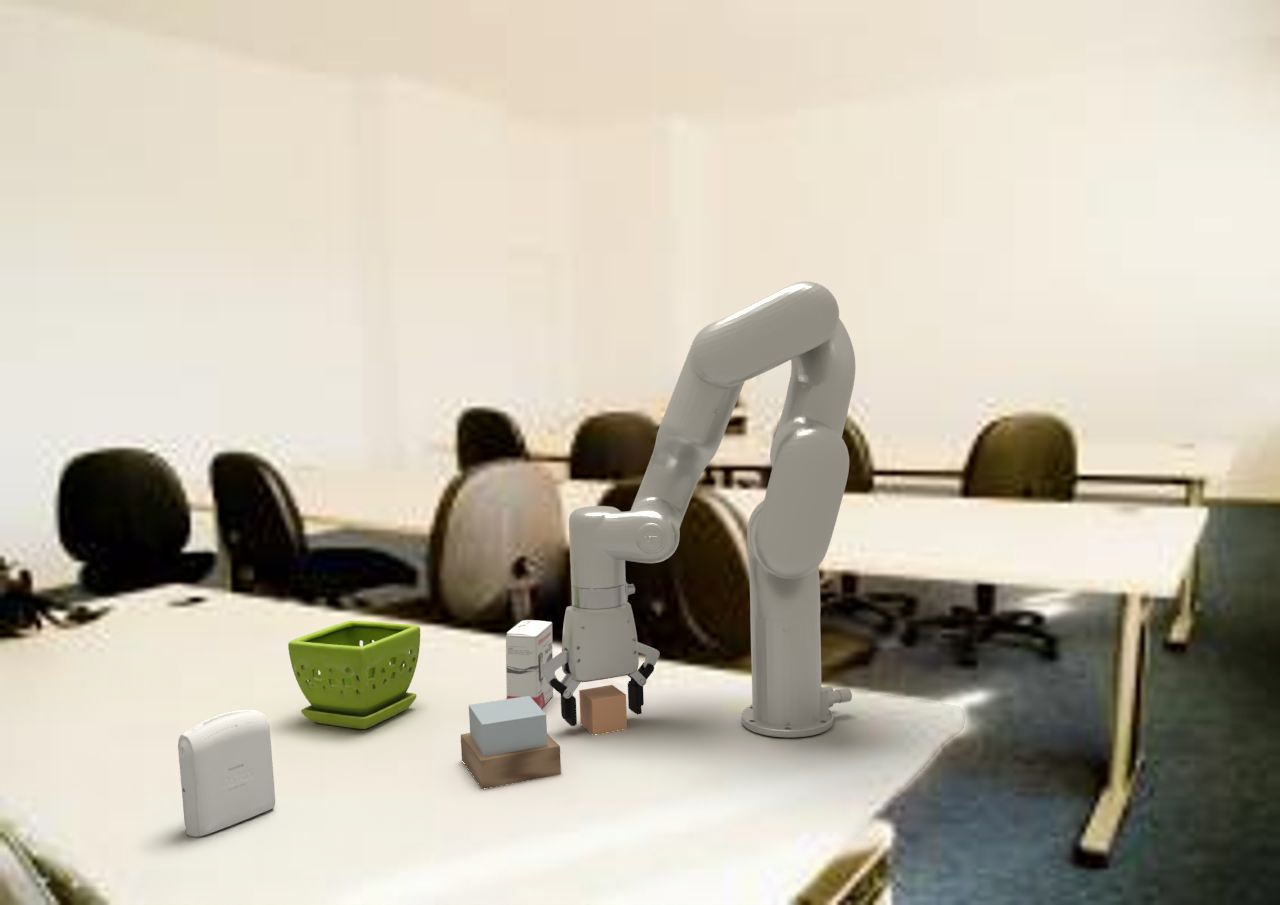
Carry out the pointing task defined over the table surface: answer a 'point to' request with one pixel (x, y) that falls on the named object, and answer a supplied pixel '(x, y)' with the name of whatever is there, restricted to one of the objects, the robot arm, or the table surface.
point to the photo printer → (226, 771)
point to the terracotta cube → (603, 709)
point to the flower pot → (356, 672)
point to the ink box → (528, 660)
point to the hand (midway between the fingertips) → (603, 717)
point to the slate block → (507, 725)
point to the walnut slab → (510, 763)
